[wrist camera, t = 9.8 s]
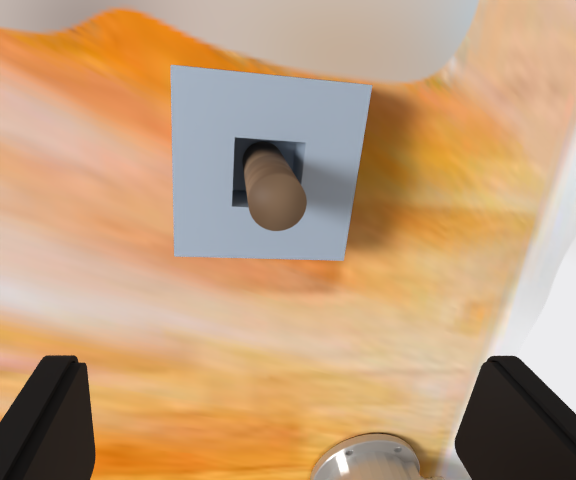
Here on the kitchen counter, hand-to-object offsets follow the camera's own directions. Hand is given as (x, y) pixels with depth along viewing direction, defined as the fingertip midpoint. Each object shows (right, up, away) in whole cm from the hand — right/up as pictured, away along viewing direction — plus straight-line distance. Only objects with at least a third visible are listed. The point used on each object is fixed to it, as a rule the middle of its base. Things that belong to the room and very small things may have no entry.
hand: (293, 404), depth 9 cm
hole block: (-2, +10, +20) cm, 23 cm away
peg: (-2, +10, +20) cm, 22 cm away
